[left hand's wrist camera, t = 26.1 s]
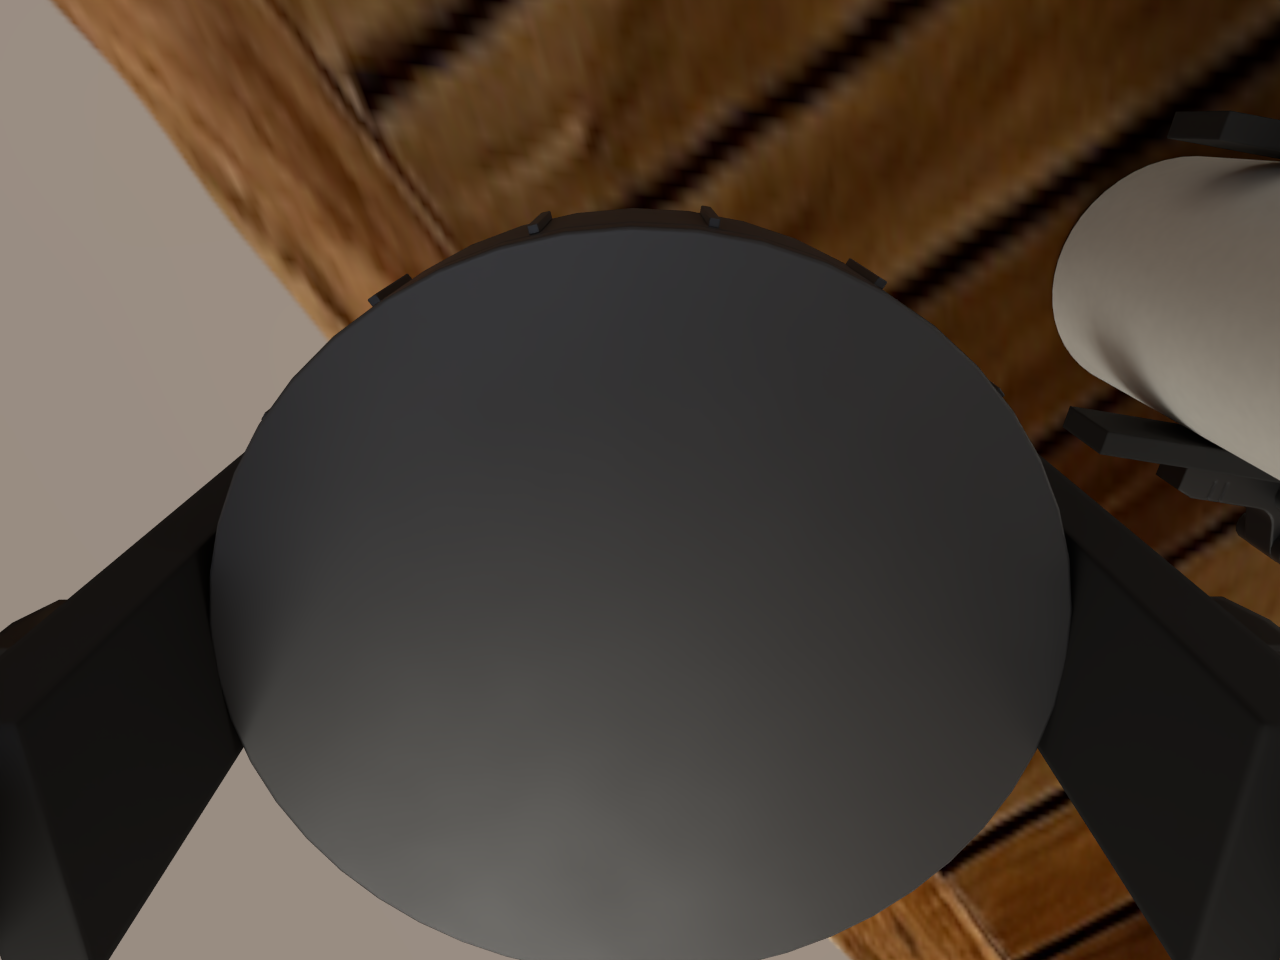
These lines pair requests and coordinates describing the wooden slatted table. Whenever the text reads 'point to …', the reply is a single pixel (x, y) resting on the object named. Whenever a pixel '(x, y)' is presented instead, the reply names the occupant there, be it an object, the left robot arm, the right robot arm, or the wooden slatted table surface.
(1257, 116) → the right robot arm
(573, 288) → the lid
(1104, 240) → the jar
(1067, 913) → the wooden slatted table surface
